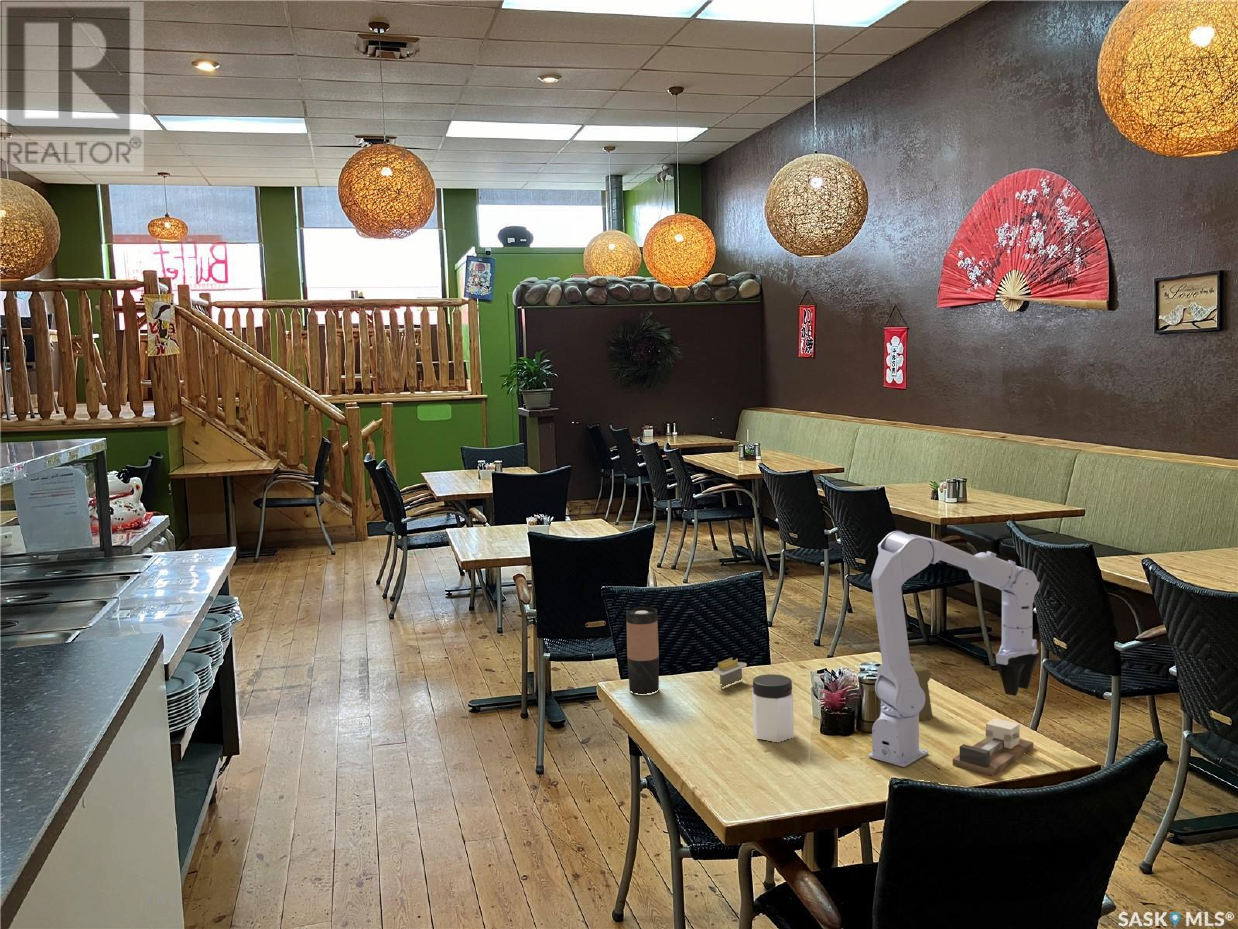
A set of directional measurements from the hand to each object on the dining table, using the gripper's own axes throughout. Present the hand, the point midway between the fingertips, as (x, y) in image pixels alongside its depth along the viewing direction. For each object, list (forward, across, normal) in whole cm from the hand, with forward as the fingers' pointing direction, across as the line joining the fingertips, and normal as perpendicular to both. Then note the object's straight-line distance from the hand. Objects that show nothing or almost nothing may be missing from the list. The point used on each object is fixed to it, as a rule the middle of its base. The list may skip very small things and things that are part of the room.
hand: (1016, 691), depth 193 cm
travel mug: (+11, -26, +80) cm, 85 cm away
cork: (+11, 0, +22) cm, 24 cm away
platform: (+11, -10, +67) cm, 69 cm away
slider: (+9, -7, 0) cm, 11 cm away
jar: (+11, -30, +39) cm, 50 cm away
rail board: (+10, -10, 0) cm, 15 cm away
